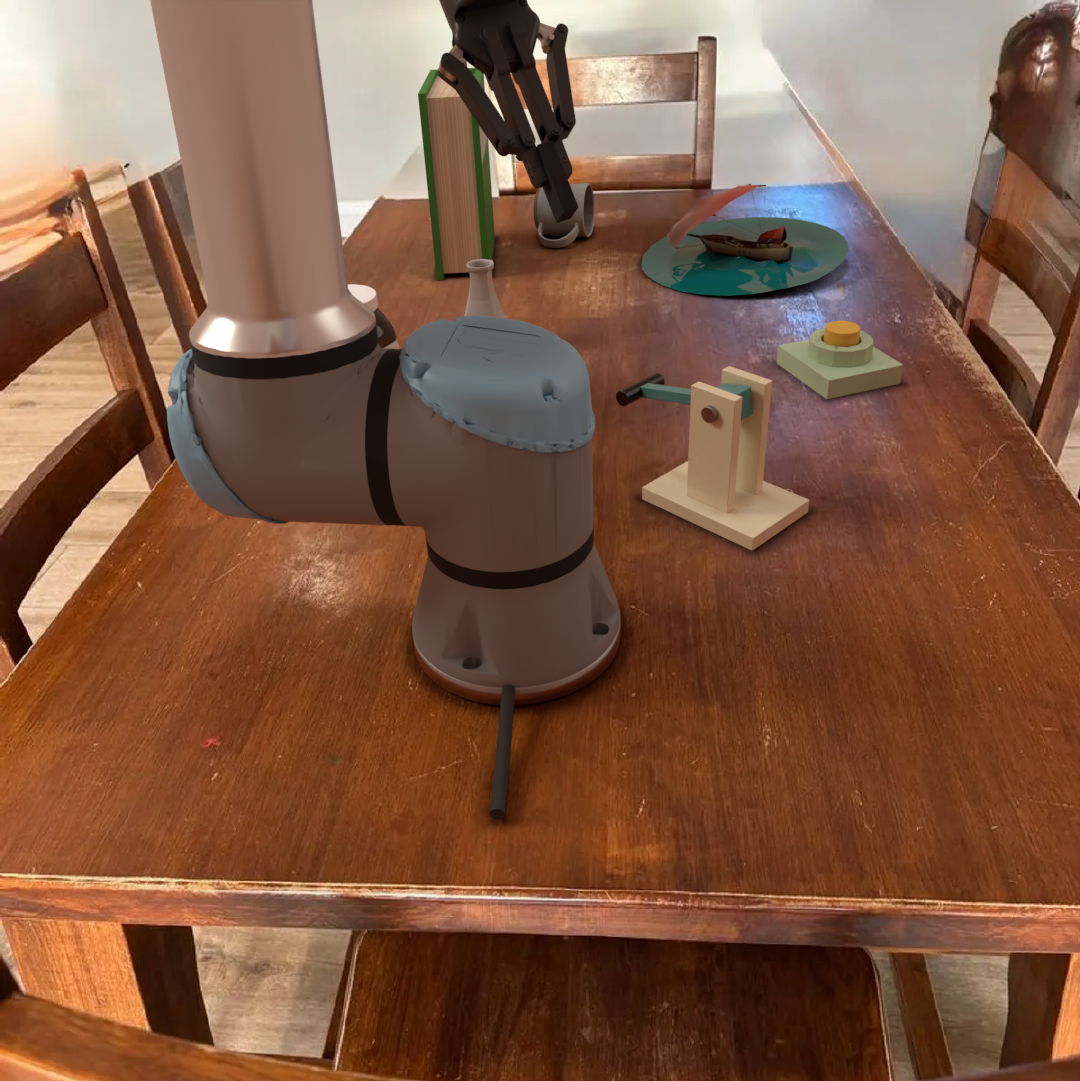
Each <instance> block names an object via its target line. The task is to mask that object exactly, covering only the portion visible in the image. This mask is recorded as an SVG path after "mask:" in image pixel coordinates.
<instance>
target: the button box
mask: <svg viewBox="0 0 1080 1081" xmlns="http://www.w3.org/2000/svg"><path fill="white" fill-rule="evenodd" d="M824 333H825V327H824V328H820V329H817V330H815V331H814V332H812V333H811V334H809V338H807V339H803V340H799V341H793V342H787V343H783V344H778V346H777V355H776V364H777V365H778V366H779V367H781V368H782V369H784V370H785V371H786V372H787V373H789V374H791V375H792V376H793V377H795V378H796V379H797V380H798V381H800V382H802V383H803V384H804V385H806V386H808V387H809V389H812V390H813V391H814V392H815V393H817V394H818V395H820V396H821V397H822V398H824V399H825V400H830V399H836V398H840V397H845V396H849V395H854V394H859V393H863V392H868V391H873V390H877V389H882V388H886V387H891V386H895V385H900V384H901V381H902V375H903V369H904V364H903V363H901V362H900V361H898V360H896V359H895V358H893V357H892V356H890V355H888V354H886V353H884V352H883V351H882V350H879V349H878V348H877V347H875V346H874V345H875V344H874V339H873V336H871V335H870V334H868V333H867V332H865V331H864V330H860V336H859V343H858V345H855V346H850V347H836V346H832V345H828V344H826V343H825V342H823V341H824Z"/></svg>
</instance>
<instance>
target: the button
mask: <svg viewBox="0 0 1080 1081" xmlns="http://www.w3.org/2000/svg"><path fill="white" fill-rule="evenodd" d="M824 328H825V333H824V341H823V342H825V343H826V344H828V345H832V346H836V347H850V346H855V345H858V343H859V336H860V331H861V326H860V325H859V324H857V323H855V322H852V321H849V320H834V321H830V322H828V323H826V324H825V326H824Z"/></svg>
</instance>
